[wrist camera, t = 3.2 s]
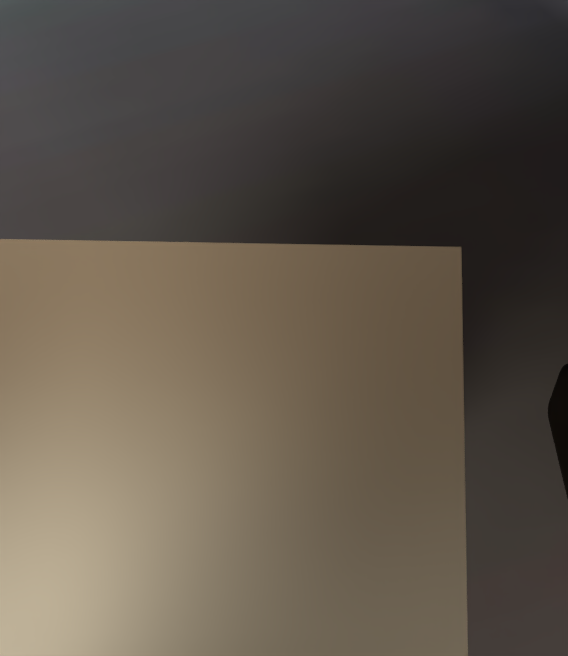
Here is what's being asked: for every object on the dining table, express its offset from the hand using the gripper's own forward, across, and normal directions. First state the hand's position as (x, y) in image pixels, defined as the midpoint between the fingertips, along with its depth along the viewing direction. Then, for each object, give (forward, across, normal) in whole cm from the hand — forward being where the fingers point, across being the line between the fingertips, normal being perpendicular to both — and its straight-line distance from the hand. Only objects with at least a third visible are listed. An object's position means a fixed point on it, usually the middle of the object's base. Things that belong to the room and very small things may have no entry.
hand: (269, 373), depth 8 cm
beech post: (+4, 0, +6) cm, 7 cm away
